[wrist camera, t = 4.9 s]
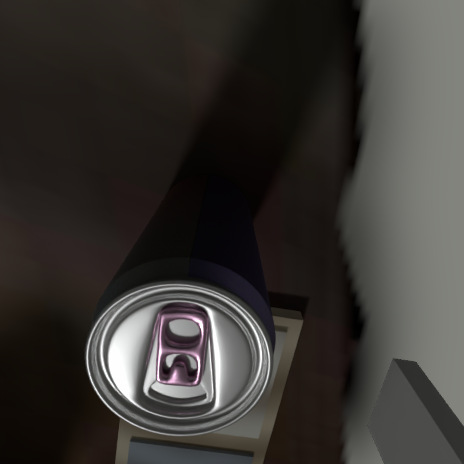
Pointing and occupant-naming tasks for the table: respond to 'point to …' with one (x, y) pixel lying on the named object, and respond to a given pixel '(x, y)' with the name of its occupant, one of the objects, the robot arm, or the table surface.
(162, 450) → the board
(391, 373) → the robot arm
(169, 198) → the beverage can
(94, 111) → the table surface
